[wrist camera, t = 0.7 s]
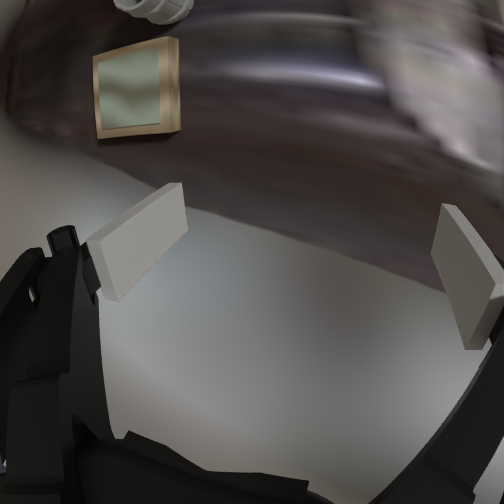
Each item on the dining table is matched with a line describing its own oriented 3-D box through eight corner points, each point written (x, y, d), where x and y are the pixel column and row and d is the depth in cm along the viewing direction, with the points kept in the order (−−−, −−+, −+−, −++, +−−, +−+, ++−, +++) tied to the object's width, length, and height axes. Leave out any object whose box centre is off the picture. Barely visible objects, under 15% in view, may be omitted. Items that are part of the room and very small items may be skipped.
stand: (105, 56, 38) (91, 56, 35) (178, 38, 34) (166, 35, 31) (109, 135, 44) (96, 139, 41) (181, 129, 41) (169, 133, 38)
